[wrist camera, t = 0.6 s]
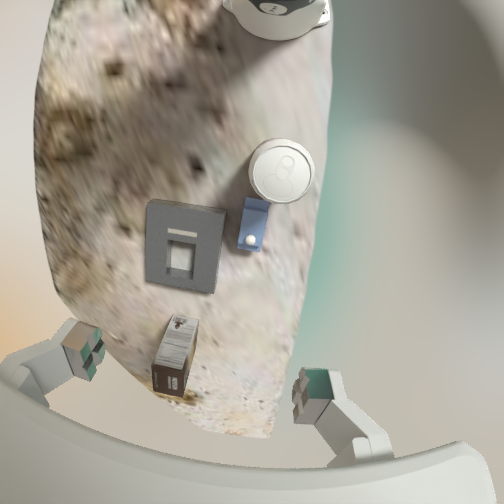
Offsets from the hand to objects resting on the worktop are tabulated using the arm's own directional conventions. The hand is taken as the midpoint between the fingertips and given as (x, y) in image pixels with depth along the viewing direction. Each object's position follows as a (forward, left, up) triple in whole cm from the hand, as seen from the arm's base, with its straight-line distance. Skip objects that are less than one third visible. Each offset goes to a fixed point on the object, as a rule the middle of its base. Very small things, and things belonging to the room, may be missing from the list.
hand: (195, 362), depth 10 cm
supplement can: (-4, +4, -40) cm, 41 cm away
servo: (+7, +2, -40) cm, 41 cm away
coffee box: (+36, -9, -40) cm, 55 cm away
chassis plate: (+14, -10, -40) cm, 44 cm away
